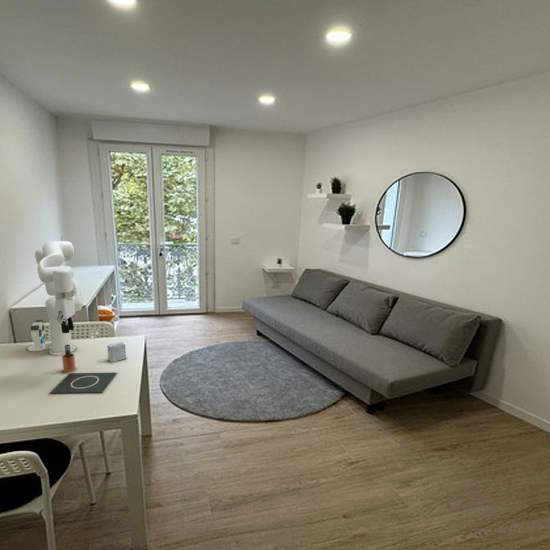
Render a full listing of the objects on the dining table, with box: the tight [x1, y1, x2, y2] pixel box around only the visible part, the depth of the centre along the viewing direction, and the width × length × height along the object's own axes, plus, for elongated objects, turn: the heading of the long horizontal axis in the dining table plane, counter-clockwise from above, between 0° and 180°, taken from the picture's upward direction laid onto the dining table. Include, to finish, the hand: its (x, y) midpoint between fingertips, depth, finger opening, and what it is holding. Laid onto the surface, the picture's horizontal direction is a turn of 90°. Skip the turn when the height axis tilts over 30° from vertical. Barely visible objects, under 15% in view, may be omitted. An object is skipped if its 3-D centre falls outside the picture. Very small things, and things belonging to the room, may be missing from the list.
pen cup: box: [61, 353, 76, 373], centre depth 176 cm, size 5×5×8 cm
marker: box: [64, 344, 72, 358], centre depth 175 cm, size 2×2×13 cm
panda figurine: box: [27, 319, 51, 352], centre depth 201 cm, size 12×11×15 cm
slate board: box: [49, 372, 117, 395], centre depth 165 cm, size 22×18×1 cm
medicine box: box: [106, 341, 127, 363], centre depth 189 cm, size 8×4×9 cm, turn 134°
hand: (67, 331), depth 171 cm, fingers open, 3 cm apart
